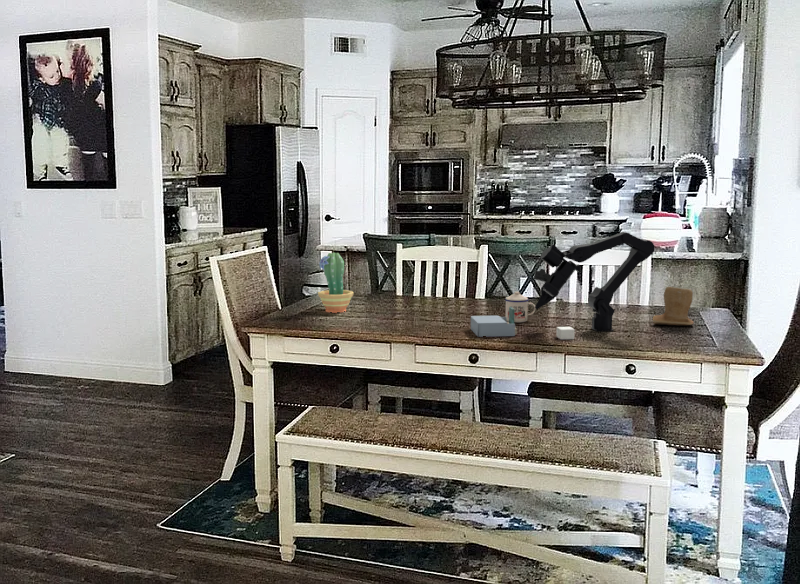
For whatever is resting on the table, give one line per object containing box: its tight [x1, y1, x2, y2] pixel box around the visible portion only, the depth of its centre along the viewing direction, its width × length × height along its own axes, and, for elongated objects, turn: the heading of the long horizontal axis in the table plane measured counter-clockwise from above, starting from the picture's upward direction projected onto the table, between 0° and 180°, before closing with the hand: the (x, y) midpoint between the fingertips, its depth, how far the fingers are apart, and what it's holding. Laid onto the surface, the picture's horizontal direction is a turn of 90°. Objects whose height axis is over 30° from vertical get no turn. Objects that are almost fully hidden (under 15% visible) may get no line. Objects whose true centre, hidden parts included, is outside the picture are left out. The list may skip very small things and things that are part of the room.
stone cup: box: [652, 286, 695, 326], centre depth 303 cm, size 15×12×15 cm
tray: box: [506, 307, 518, 335], centre depth 289 cm, size 14×13×8 cm
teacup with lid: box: [504, 291, 537, 323], centre depth 312 cm, size 12×9×12 cm
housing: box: [470, 315, 516, 338], centre depth 289 cm, size 14×14×5 cm
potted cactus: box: [317, 252, 354, 314], centre depth 333 cm, size 15×15×25 cm
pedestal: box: [555, 326, 575, 340], centre depth 280 cm, size 5×5×4 cm
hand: (535, 308), depth 290 cm, fingers closed
